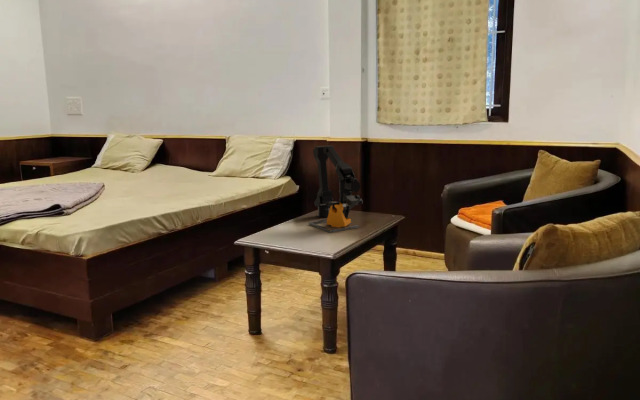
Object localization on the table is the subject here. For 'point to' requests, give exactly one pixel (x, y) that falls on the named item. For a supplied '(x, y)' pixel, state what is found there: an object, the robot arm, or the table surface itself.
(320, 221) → the rail bay
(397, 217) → the table surface
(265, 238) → the table surface
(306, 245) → the table surface
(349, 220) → the bracket
